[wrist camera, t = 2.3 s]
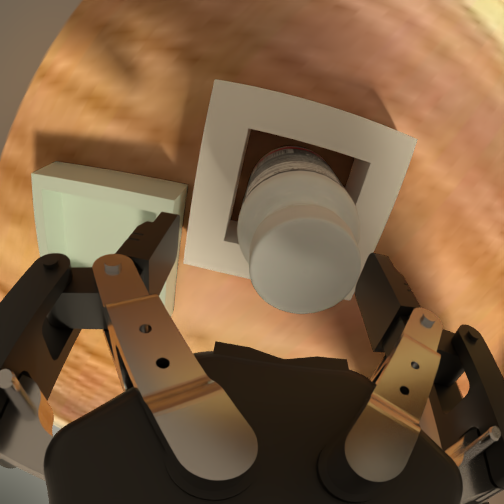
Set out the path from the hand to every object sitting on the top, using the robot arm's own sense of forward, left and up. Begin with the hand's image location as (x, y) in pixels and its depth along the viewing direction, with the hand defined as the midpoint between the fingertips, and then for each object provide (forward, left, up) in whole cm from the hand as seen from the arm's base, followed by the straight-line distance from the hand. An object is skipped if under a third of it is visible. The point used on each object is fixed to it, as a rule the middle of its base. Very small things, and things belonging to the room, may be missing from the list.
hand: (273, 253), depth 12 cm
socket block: (-1, -1, -8) cm, 8 cm away
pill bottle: (-1, -1, -8) cm, 8 cm away
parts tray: (+11, +6, -8) cm, 15 cm away
